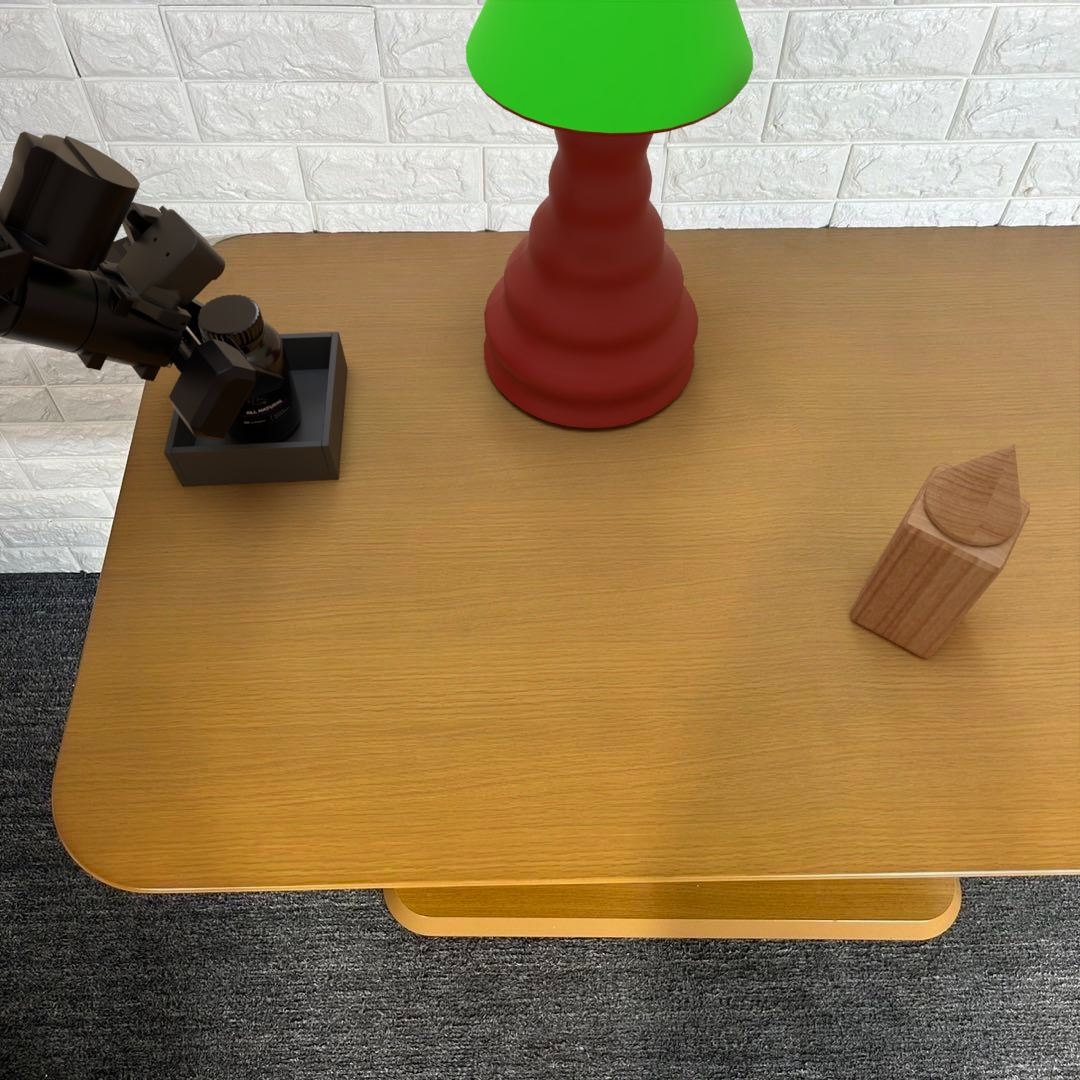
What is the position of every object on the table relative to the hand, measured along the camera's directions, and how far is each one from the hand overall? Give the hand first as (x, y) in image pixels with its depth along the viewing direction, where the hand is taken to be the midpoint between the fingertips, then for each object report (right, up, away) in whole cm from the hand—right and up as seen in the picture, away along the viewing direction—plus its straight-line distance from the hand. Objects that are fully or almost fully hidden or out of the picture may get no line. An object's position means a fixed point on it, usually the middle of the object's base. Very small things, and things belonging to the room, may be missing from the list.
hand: (259, 358), depth 74 cm
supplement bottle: (-1, -5, +5) cm, 7 cm away
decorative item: (+51, -21, -4) cm, 55 cm away
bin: (-1, -5, +6) cm, 8 cm away
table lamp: (+28, +3, +11) cm, 30 cm away
